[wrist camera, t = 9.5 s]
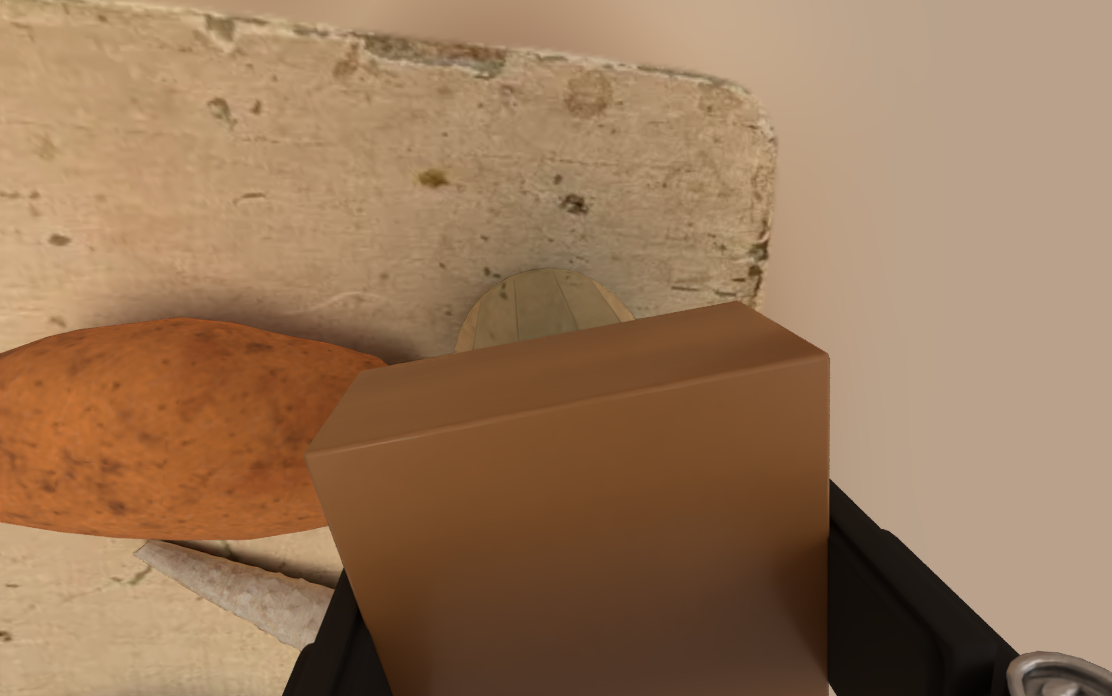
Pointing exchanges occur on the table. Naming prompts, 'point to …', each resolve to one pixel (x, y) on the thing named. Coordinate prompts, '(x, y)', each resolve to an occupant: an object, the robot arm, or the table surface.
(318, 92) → the table surface
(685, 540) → the brown cardboard box
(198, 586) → the seashell
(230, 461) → the potato
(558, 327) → the green cup
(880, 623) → the robot arm
